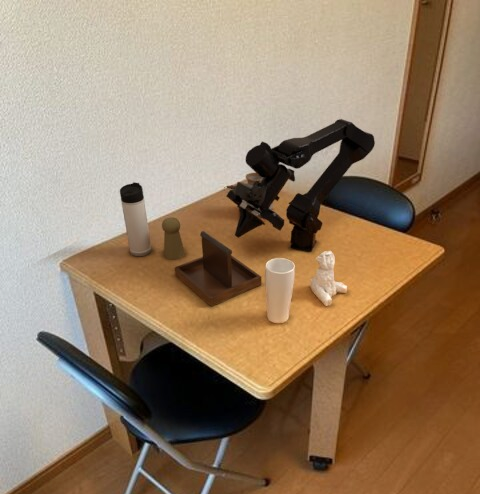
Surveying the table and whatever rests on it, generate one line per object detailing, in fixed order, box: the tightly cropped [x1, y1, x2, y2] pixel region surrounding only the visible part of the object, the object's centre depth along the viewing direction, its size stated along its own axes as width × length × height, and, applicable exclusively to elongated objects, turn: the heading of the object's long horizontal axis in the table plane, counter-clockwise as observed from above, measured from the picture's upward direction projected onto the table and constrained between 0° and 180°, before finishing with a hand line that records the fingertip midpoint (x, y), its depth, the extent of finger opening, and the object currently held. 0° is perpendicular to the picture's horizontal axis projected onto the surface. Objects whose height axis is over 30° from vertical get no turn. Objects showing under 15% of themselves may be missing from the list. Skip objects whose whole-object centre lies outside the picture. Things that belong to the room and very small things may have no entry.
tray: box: [173, 230, 262, 307], centre depth 130 cm, size 16×18×12 cm
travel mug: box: [119, 181, 152, 257], centre depth 141 cm, size 6×7×20 cm
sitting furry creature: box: [309, 249, 348, 307], centre depth 125 cm, size 10×9×12 cm
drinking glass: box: [264, 257, 296, 324], centre depth 116 cm, size 7×7×15 cm
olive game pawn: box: [161, 217, 185, 260], centre depth 142 cm, size 6×6×11 cm
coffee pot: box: [223, 172, 274, 211], centre depth 157 cm, size 21×12×15 cm, turn 144°
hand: (236, 236), depth 130 cm, fingers closed
